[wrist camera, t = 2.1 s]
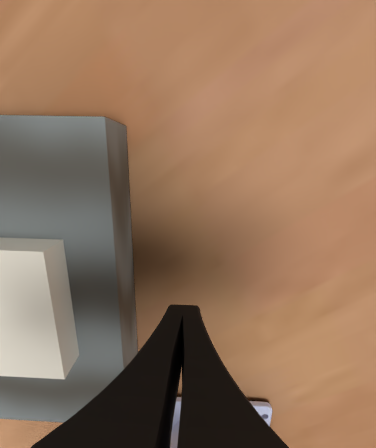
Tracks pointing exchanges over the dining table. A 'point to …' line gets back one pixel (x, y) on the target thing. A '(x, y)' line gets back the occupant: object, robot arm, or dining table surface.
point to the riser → (73, 247)
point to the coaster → (35, 310)
